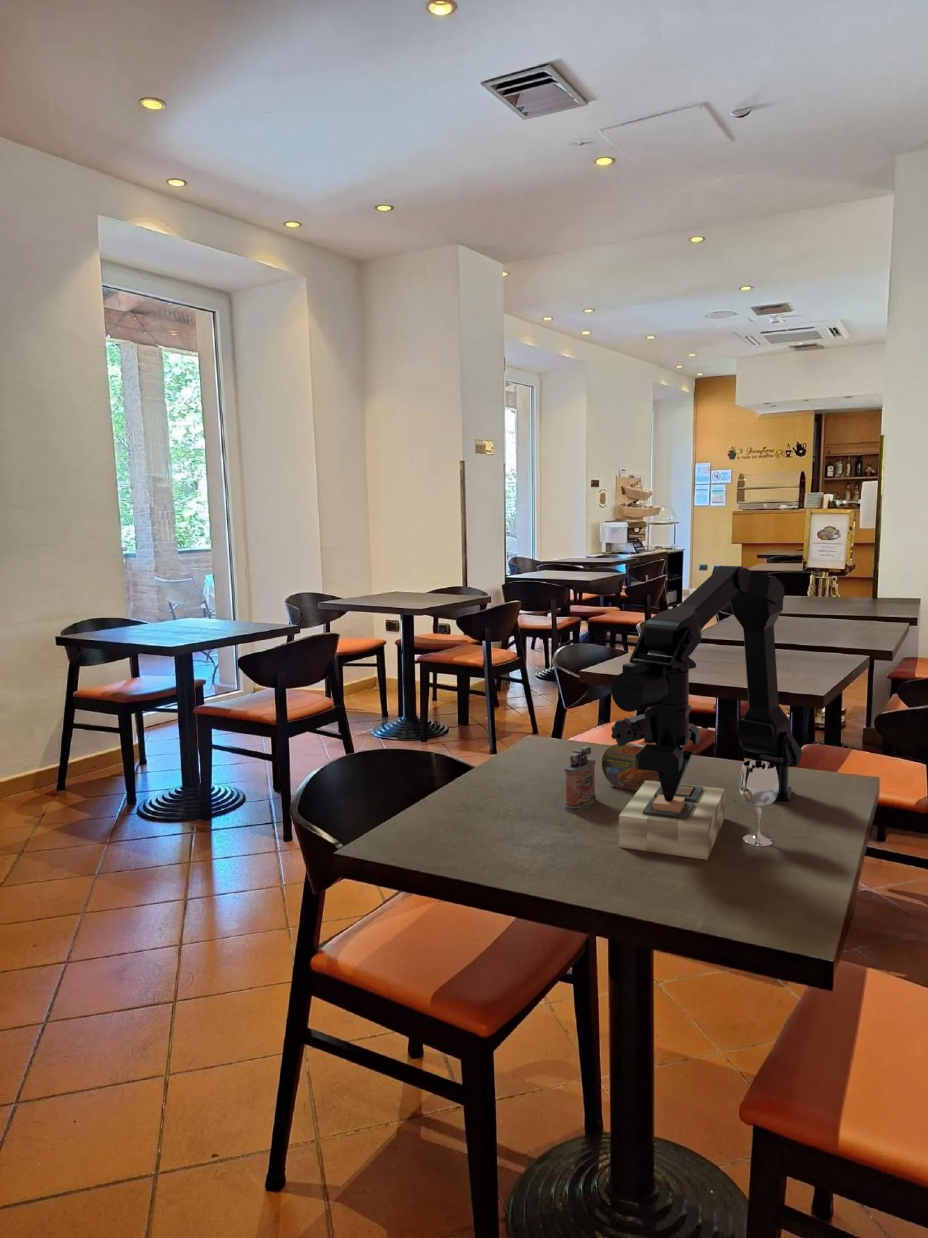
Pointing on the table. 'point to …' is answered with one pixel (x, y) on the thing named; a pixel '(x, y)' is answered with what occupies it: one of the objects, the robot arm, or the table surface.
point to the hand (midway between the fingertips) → (669, 800)
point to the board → (673, 822)
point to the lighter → (580, 780)
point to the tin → (625, 767)
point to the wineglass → (758, 793)
